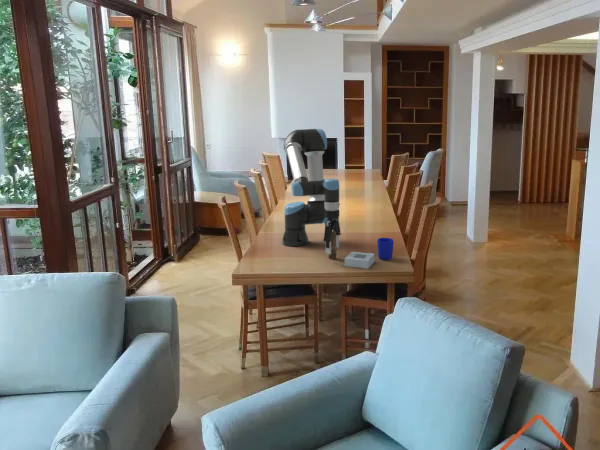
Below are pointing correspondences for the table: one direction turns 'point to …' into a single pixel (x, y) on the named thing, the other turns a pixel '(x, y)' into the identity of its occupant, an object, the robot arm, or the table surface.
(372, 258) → the socket
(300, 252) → the table surface
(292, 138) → the robot arm
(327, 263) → the table surface
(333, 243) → the peg
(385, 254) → the mug
